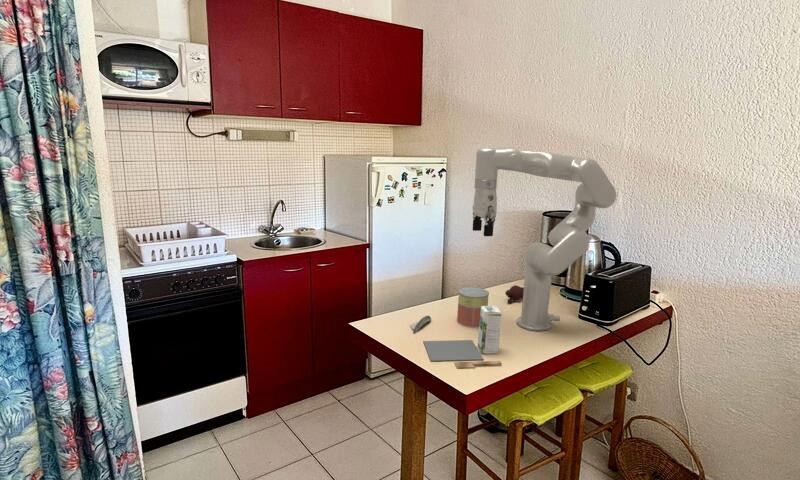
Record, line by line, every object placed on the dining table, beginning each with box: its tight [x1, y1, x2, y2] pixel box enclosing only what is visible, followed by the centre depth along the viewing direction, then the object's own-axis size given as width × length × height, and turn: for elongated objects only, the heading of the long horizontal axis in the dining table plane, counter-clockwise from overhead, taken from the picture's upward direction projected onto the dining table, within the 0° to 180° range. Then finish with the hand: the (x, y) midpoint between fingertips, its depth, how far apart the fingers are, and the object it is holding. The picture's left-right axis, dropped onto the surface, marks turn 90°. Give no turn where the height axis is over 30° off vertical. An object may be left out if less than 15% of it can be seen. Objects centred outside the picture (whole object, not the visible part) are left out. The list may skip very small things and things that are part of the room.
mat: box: [423, 339, 485, 363], centre depth 149 cm, size 17×14×1 cm
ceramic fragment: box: [410, 315, 432, 334], centre depth 168 cm, size 14×5×4 cm, turn 149°
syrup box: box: [477, 305, 503, 355], centre depth 149 cm, size 6×6×14 cm
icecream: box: [505, 284, 524, 305], centre depth 198 cm, size 7×7×15 cm
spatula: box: [453, 360, 503, 370], centre depth 140 cm, size 14×4×1 cm, turn 96°
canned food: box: [456, 286, 490, 329], centre depth 172 cm, size 11×11×12 cm
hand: (482, 233), depth 160 cm, fingers open, 9 cm apart
